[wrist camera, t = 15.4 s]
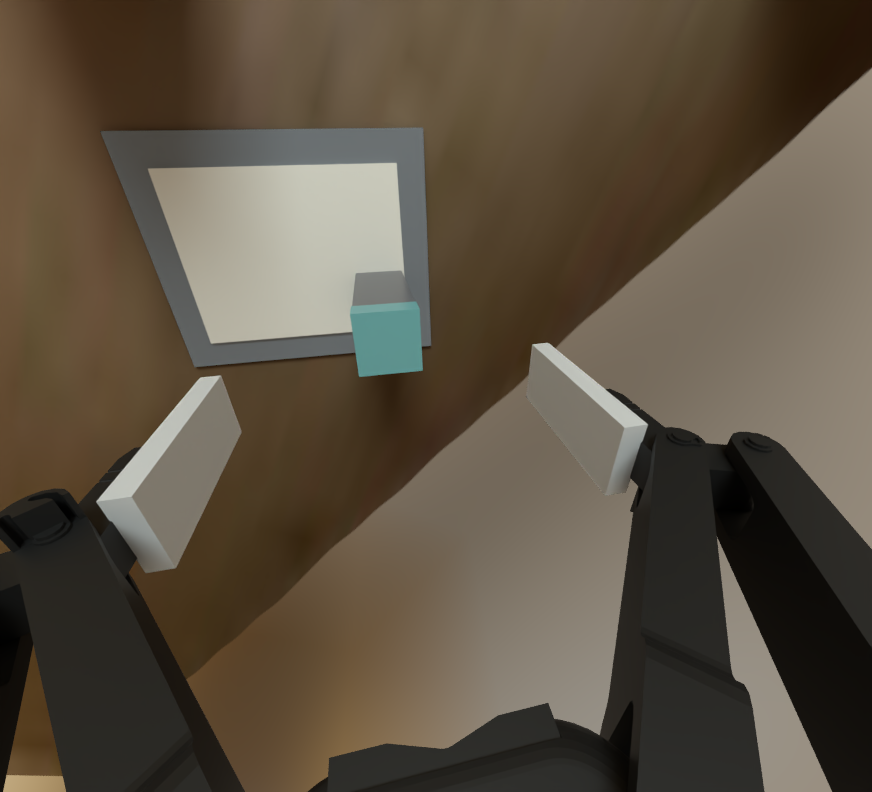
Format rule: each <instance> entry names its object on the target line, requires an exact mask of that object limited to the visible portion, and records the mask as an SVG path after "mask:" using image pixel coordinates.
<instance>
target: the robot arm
mask: <svg viewBox="0 0 872 792" xmlns="http://www.w3.org/2000/svg"><path fill="white" fill-rule="evenodd" d="M526 397H527V399H528V400H529V401H530V403H532V405H533V406H534V408H535V409H536V410H537V411H538V413H539V414H540V415H541V416H542V417H543V419H544V420H545V421H546V423H548V425H549V426H550V428H551V429H552V430H553V431H554V432H555V434H556V435H557V436H558V437H559V439H560V440H561V441H562V443H563V444H564V445H565V446H566V448H567V449H568V450H569V451H570V452H571V454H572V455H573V456H574V458H575V459H576V460H577V461H578V462H579V464H580V465H581V466H582V468H583V469H584V470H585V471H586V472H587V474H588V475H589V476H590V477H591V479H592V480H593V481H594V482H595V484H596V485H597V486H598V488H599V489H600V490H601V491H602V492H603V493H604V495H606V496H607V495H613V494H619V493H625V492H626V491H627V488H628V484H629V482H630V479H632V480H633V481H634V482H635V483H636V484H637V485H638V489H637V492H636V495H635V498H634V501H633V504H632V507H631V510H630V511H631V512H633V518H632V526H631V534H630V542H629V548H628V556H627V564H626V571H625V579H624V586H623V594H622V601H621V609H620V617H619V624H618V632H617V639H616V647H615V654H614V661H613V669H612V676H611V684H610V692H609V698H608V703H607V708H606V711H605V716H604V719H603V723H602V728H601V733H600V735H598V734H596V733H594V732H593V731H591V730H589V729H587V728H584V727H582V726H579V725H577V724H574V723H571V722H567V721H563V720H558V719H554V718H553V715H552V712H551V709H550V707H549V704H548V703H546V704H542V705H538V706H534V707H530V708H526V709H522V710H518V711H514V712H510V713H506V714H502V715H498V716H497V717H495V718H494V719H492V720H491V721H489V722H488V723H486V724H485V725H483V726H481V727H480V728H478V729H477V730H475V731H474V732H472V733H471V734H469V735H468V736H466V737H465V738H463V739H462V740H460V741H459V742H457V743H456V744H454V745H453V746H451V747H449V748H445V749H437V748H427V747H416V746H406V745H396V744H383V745H379V746H375V747H371V748H367V749H363V750H359V751H355V752H351V753H347V754H343V755H339V756H335V757H331V758H329V772H328V777H327V778H326V779H324V780H322V781H321V782H319V783H318V784H317V785H315V786H314V787H313V788H312V789H310V790H309V791H308V792H764V786H763V779H762V772H761V764H760V758H759V750H758V743H757V737H756V729H755V722H754V715H753V708H752V704H751V699H750V695H749V692H748V691H747V689H746V687H745V685H744V684H742V683H740V682H738V681H736V680H735V679H734V677H733V675H732V670H731V664H730V655H729V646H728V636H727V627H726V618H725V609H724V599H723V591H722V581H721V572H720V563H719V553H718V545H717V537H718V540H719V542H720V544H721V546H722V548H723V551H724V553H725V555H726V557H727V560H728V562H729V564H730V566H731V568H732V571H733V573H734V575H735V577H736V580H737V582H738V584H739V586H740V588H741V590H742V593H743V595H744V597H745V599H746V601H747V604H748V606H749V608H750V611H751V612H752V615H753V617H754V619H755V621H756V624H757V626H758V628H759V630H760V633H761V635H762V637H763V639H764V641H765V644H766V646H767V648H768V650H769V653H770V655H771V657H772V659H773V661H774V664H775V666H776V668H777V670H778V673H779V675H780V677H781V679H782V681H783V683H784V686H785V688H786V690H787V692H788V694H789V697H790V699H791V701H792V703H793V706H794V708H795V710H796V712H797V715H798V717H799V719H800V721H801V723H802V726H803V728H804V730H805V732H806V734H807V737H808V739H809V741H810V743H811V746H812V748H813V750H814V752H815V754H816V757H817V759H818V761H819V763H820V765H821V768H822V770H823V772H824V774H825V776H826V779H827V781H828V783H829V785H830V788H831V790H832V792H872V549H871V548H870V547H869V546H868V545H867V543H866V542H865V541H864V540H863V539H862V538H861V536H860V535H859V534H858V533H857V532H856V531H855V530H854V528H853V527H852V526H851V525H850V524H849V522H848V521H847V520H846V519H845V518H844V517H843V516H842V514H841V513H840V512H839V511H838V510H837V508H836V507H835V506H834V505H833V504H832V503H831V501H830V500H829V499H828V498H827V497H826V496H825V494H824V493H823V492H822V491H821V490H820V489H819V488H818V486H817V485H816V484H815V483H814V482H813V480H812V479H811V478H810V477H809V476H808V475H807V474H806V472H805V471H804V470H803V469H802V468H801V466H800V465H799V464H798V463H797V462H796V461H795V459H794V458H793V457H792V456H791V455H790V454H789V452H788V451H787V450H786V449H785V448H784V447H783V446H782V445H781V444H779V443H778V442H776V441H774V440H772V439H770V438H769V437H767V436H763V435H761V434H758V433H750V432H737V433H734V434H733V435H732V436H731V438H730V440H729V442H728V444H727V445H720V444H708V443H705V441H704V440H703V439H702V438H700V437H699V436H698V435H696V434H694V433H692V432H690V431H687V430H684V429H680V428H673V427H669V428H665V427H663V426H662V425H661V424H660V423H658V422H657V421H656V420H655V419H653V418H652V417H651V416H650V415H648V414H647V413H646V412H644V411H643V410H640V408H639V407H638V406H637V405H636V404H633V403H632V401H630V400H629V399H628V398H627V397H625V396H624V395H623V394H620V393H618V392H616V391H614V390H611V389H604V388H603V387H602V386H600V385H599V384H598V383H597V382H595V381H594V380H593V379H592V378H590V377H589V376H588V375H587V374H586V373H584V372H583V371H582V370H581V369H580V368H578V367H577V366H576V365H575V364H573V363H572V362H571V361H570V360H568V359H567V358H566V357H565V356H564V355H562V354H561V353H560V352H559V351H558V350H556V349H555V348H554V347H553V346H551V345H550V344H549V343H542V344H532V351H531V360H530V369H529V378H528V387H527V396H526ZM240 434H241V429H240V426H239V423H238V421H237V418H236V415H235V412H234V410H233V407H232V404H231V402H230V399H229V396H228V393H227V391H226V388H225V385H224V382H223V380H222V377H221V376H211V377H201V378H200V379H199V380H198V381H197V382H196V383H195V384H194V386H193V387H192V388H191V389H190V390H189V392H188V393H187V394H186V395H185V396H184V398H183V399H182V400H181V401H180V402H179V404H178V405H177V406H176V407H175V408H174V409H173V411H172V412H171V413H170V414H169V415H168V417H167V418H166V419H165V420H164V421H163V423H162V424H161V425H160V426H159V427H158V429H157V430H156V431H155V432H154V433H153V434H152V436H151V437H150V438H149V439H148V440H147V442H146V443H145V444H144V445H143V446H142V447H139V448H134V449H132V450H131V451H129V452H128V453H127V454H125V455H124V456H122V457H121V458H119V459H118V460H117V461H116V462H115V464H114V465H113V466H112V467H111V468H110V469H109V470H108V473H106V474H105V475H104V476H103V477H102V478H101V479H100V480H99V481H100V482H99V483H97V484H96V485H95V486H94V487H93V488H92V489H91V491H90V492H89V493H88V494H87V495H86V496H85V497H84V498H83V499H82V501H81V502H80V503H79V504H77V502H76V501H75V500H74V498H73V497H72V496H71V494H70V493H69V492H68V491H66V490H65V489H50V490H45V491H41V492H38V493H35V494H32V495H29V496H27V497H25V498H23V499H21V500H19V501H17V502H15V503H13V504H11V505H10V506H8V507H7V508H6V509H4V510H3V511H1V512H0V539H1V540H2V541H3V543H4V544H5V545H6V546H7V547H8V548H9V549H10V550H11V551H8V552H5V553H2V554H0V792H3V788H4V784H5V779H6V774H7V769H8V765H9V760H10V755H11V750H12V745H13V740H14V735H15V730H16V726H17V721H18V716H19V711H20V706H21V701H22V696H23V692H24V687H25V682H26V677H27V672H28V667H29V662H30V657H31V653H32V648H33V644H34V649H35V653H36V658H37V662H38V667H39V671H40V676H41V680H42V685H43V689H44V694H45V698H46V703H47V707H48V711H49V716H50V720H51V725H52V729H53V734H54V738H55V743H56V747H57V752H58V756H59V761H60V765H61V770H62V774H63V778H64V783H65V788H66V792H245V791H244V789H243V787H242V785H241V783H240V781H239V780H238V778H237V776H236V774H235V772H234V770H233V768H232V766H231V764H230V762H229V760H228V759H227V757H226V755H225V753H224V751H223V749H222V747H221V745H220V743H219V741H218V740H217V738H216V736H215V734H214V732H213V730H212V728H211V726H210V724H209V722H208V720H207V719H206V717H205V715H204V713H203V711H202V709H201V707H200V705H199V703H198V701H197V700H196V698H195V696H194V694H193V692H192V690H191V689H190V686H189V684H188V682H187V681H186V679H185V677H184V675H183V673H182V671H181V669H180V667H179V665H178V663H177V662H176V660H175V658H174V656H173V654H172V652H171V650H170V648H169V646H168V644H167V642H166V641H165V639H164V637H163V635H162V633H161V631H160V629H159V627H158V625H157V623H156V622H155V620H154V618H153V616H152V614H151V612H150V610H149V608H148V606H147V604H146V603H145V601H144V599H143V597H142V595H141V593H140V591H139V589H138V587H137V585H136V583H135V582H134V580H133V578H132V577H131V576H130V574H129V571H130V569H131V568H132V566H133V564H134V563H135V561H136V560H137V561H138V563H139V564H140V565H141V567H142V568H143V570H144V571H145V573H149V572H155V571H161V570H167V569H173V568H176V567H177V565H178V563H179V560H180V558H181V556H182V554H183V552H184V550H185V548H186V546H187V544H188V542H189V540H190V538H191V536H192V534H193V531H194V529H195V527H196V525H197V523H198V521H199V519H200V517H201V515H202V513H203V511H204V509H205V507H206V505H207V502H208V500H209V498H210V496H211V494H212V492H213V490H214V488H215V486H216V484H217V482H218V480H219V478H220V476H221V473H222V471H223V469H224V467H225V465H226V463H227V461H228V459H229V457H230V455H231V453H232V451H233V449H234V447H235V444H236V442H237V440H238V438H239V436H240Z"/></svg>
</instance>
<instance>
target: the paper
mask: <svg viewBox="0 0 872 792" xmlns="http://www.w3.org/2000/svg"><path fill="white" fill-rule="evenodd" d="M100 132H101V135H102V137H103V140H104V142H105V145H106V147H107V150H108V152H109V155H110V157H111V159H112V162H113V164H114V167H115V169H116V172H117V174H118V177H119V179H120V182H121V184H122V187H123V189H124V192H125V194H126V197H127V199H128V202H129V204H130V207H131V209H132V212H133V214H134V217H135V219H136V222H137V224H138V227H139V229H140V232H141V234H142V237H143V239H144V242H145V244H146V247H147V249H148V252H149V254H150V257H151V259H152V262H153V264H154V267H155V269H156V272H157V274H158V277H159V279H160V282H161V284H162V287H163V289H164V292H165V294H166V297H167V299H168V302H169V304H170V307H171V309H172V312H173V314H174V317H175V319H176V322H177V324H178V327H179V329H180V332H181V334H182V337H183V339H184V342H185V344H186V347H187V349H188V352H189V354H190V356H191V359H192V361H193V364H194V366H195V367H202V366H213V365H224V364H235V363H246V362H257V361H268V360H279V359H290V358H301V357H312V356H323V355H334V354H345V353H356V352H355V345H354V339H353V332H352V325H351V318H350V309H351V306H352V301H353V293H354V284H355V275H356V273H366V272H383V271H400V270H401V271H402V273H403V275H404V278H405V280H406V282H407V284H408V287H409V289H410V291H411V293H412V296H413V298H414V300H415V302H417V304H418V306H419V309H420V327H421V347H422V346H431V329H430V302H429V275H428V248H427V221H426V194H425V167H424V139H423V128H349V129H253V130H157V131H100Z"/></svg>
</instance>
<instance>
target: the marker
mask: <svg viewBox="0 0 872 792" xmlns="http://www.w3.org/2000/svg"><path fill="white" fill-rule="evenodd" d="M350 318H351V325H352V332H353V339H354V345H355V352H356V359H357V365H358V372H359V377H363V376H373V375H383V374H393V373H404V372H414V371H423V367H422V347H421V327H420V309H419V306H418V304H417V302H415V300H414V298H413V296H412V293H411V291H410V289H409V287H408V284H407V282H406V280H405V278H404V275H403V273H402V271H401V270H400V271H383V272H366V273H356V275H355V284H354V293H353V301H352V306H351V309H350Z"/></svg>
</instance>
